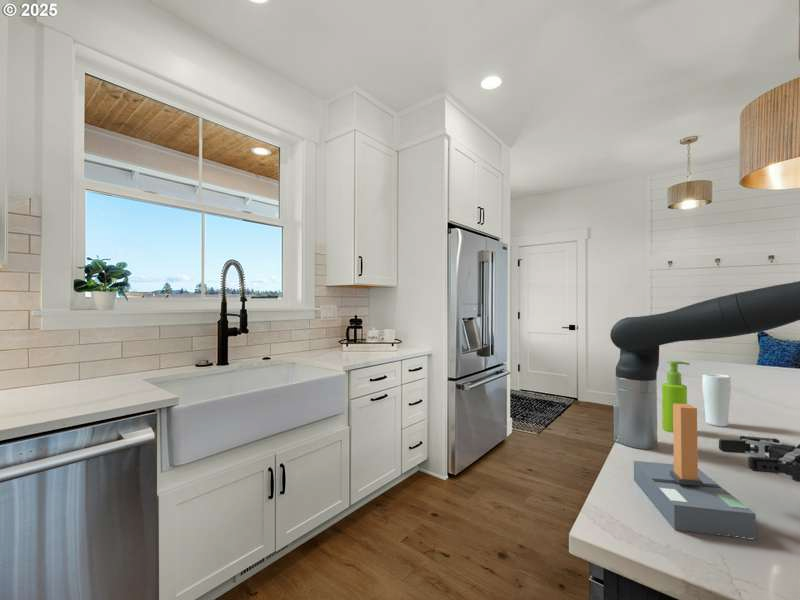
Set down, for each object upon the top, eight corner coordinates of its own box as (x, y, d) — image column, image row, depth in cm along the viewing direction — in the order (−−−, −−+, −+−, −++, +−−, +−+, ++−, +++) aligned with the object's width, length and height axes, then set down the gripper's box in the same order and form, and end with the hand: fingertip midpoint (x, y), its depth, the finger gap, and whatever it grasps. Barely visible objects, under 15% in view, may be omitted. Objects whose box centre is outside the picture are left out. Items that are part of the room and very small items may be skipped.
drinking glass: (702, 419, 120) (702, 372, 121) (730, 424, 116) (730, 374, 116) (702, 425, 115) (701, 375, 115) (731, 429, 111) (731, 378, 111)
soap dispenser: (696, 433, 107) (695, 362, 108) (671, 433, 107) (670, 362, 108) (681, 427, 113) (680, 360, 113) (657, 426, 113) (657, 359, 114)
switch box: (695, 486, 76) (694, 465, 76) (755, 539, 59) (755, 513, 59) (633, 480, 79) (633, 460, 79) (674, 529, 61) (674, 504, 61)
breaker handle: (691, 477, 70) (691, 403, 70) (702, 486, 66) (701, 409, 67) (669, 475, 71) (668, 402, 71) (678, 483, 67) (678, 407, 68)
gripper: (812, 427, 70) (710, 420, 74) (891, 456, 56) (761, 447, 60) (813, 467, 70) (711, 459, 74) (892, 507, 56) (762, 494, 60)
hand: (733, 453), depth 67 cm, fingers open, 8 cm apart
